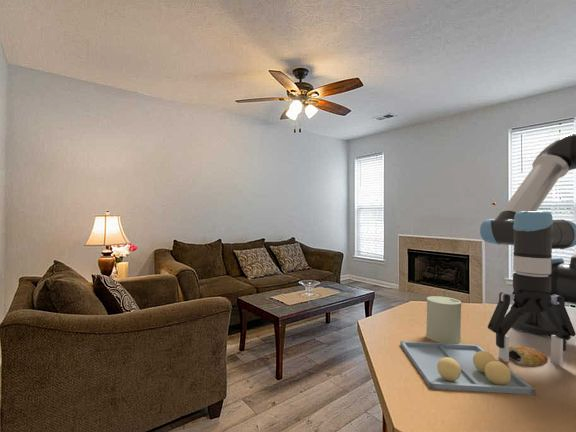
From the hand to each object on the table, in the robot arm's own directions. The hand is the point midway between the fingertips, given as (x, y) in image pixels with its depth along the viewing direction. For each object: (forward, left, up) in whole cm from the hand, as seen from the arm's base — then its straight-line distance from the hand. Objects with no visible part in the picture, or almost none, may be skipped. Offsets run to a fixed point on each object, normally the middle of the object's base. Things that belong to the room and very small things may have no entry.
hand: (530, 362), depth 78 cm
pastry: (0, -1, -1) cm, 1 cm away
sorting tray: (+19, +5, 0) cm, 20 cm away
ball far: (+24, +12, 0) cm, 27 cm away
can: (+15, -13, 0) cm, 20 cm away
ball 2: (+15, +13, 0) cm, 19 cm away
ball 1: (+15, +8, 0) cm, 17 cm away
